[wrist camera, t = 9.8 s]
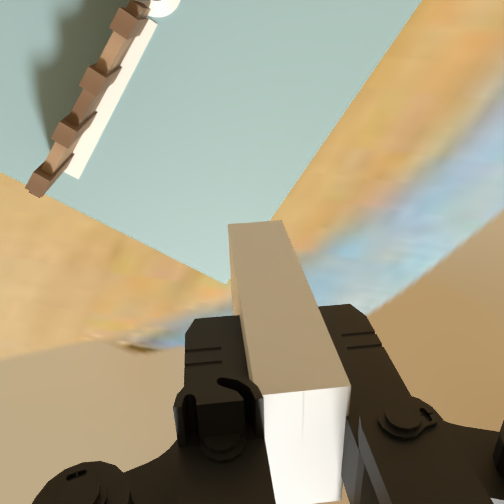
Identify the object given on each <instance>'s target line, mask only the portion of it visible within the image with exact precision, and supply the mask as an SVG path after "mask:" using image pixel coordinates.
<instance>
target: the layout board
mask: <svg viewBox="0 0 504 504" xmlns="http://www.w3.org/2000/svg"><path fill="white" fill-rule="evenodd" d="M129 1H130V0H0V172H2V173H4V174H6V175H8V176H10V177H12V178H14V179H16V180H18V181H20V182H22V183H24V184H26V185H27V183H28V181H29V179H30V177H31V175H32V173H33V172H34V171H35V170H36V169H37V168H38V167H39V166H40V165H41V164H42V163H43V162H44V161H45V160H46V158H47V156H48V154H49V152H50V151H51V149H52V147H53V145H54V143H55V141H54V140H52V139H51V137H52V135H53V133H54V131H55V129H56V127H57V126H58V124H59V122H60V121H61V120H62V119H64V118H65V117H66V116H67V115H69V114H70V113H71V111H72V109H73V107H74V105H75V103H76V101H77V99H78V98H79V96H80V94H81V92H82V90H83V88H82V87H80V86H79V84H80V82H81V80H82V78H83V76H84V74H85V72H86V70H87V68H88V67H89V66H91V65H93V64H95V63H97V62H98V60H99V58H100V56H101V54H102V52H103V50H104V48H105V46H106V45H107V43H108V41H109V39H110V37H111V35H112V33H113V30H112V29H110V28H109V26H110V24H111V22H112V20H113V19H114V17H115V15H116V13H117V11H118V9H119V7H124V8H126V7H127V5H128V3H129ZM135 1H137V0H135ZM421 1H422V0H160V1H153V0H151V1H147V2H142V3H143V4H145V5H146V6H147V7H149V8H150V9H151V10H150V12H149V14H148V15H147V17H146V18H148V19H149V20H148V22H147V23H146V25H145V27H144V29H143V31H142V32H141V34H140V36H137V37H135V39H134V41H133V43H132V45H131V46H130V48H129V50H128V52H127V54H126V56H125V57H124V59H123V61H122V63H121V65H120V66H121V67H122V69H121V71H120V73H119V74H118V76H117V78H116V80H115V82H114V83H113V84H112V85H110V86H109V87H108V89H107V90H106V92H105V94H104V96H103V98H102V100H101V101H100V103H99V105H98V107H97V109H96V111H97V112H98V113H97V114H96V116H95V118H94V120H93V122H92V124H91V125H90V127H89V128H88V129H87V130H86V131H85V132H84V133H83V134H82V136H81V138H80V140H79V142H78V143H77V145H76V147H75V149H74V151H73V153H74V154H75V155H74V156H73V158H72V160H71V162H70V164H69V165H68V167H67V168H66V170H65V171H64V172H63V173H62V174H61V175H60V177H59V178H58V179H57V180H56V181H55V182H54V184H53V185H52V186H51V187H50V188H49V189H48V190H47V192H46V193H45V194H46V195H48V196H50V197H52V198H54V199H56V200H58V201H60V202H62V203H64V204H66V205H68V206H70V207H72V208H74V209H76V210H78V211H80V212H82V213H84V214H86V215H88V216H90V217H92V218H94V219H96V220H98V221H100V222H102V223H104V224H106V225H108V226H109V227H111V228H113V229H115V230H117V231H119V232H121V233H123V234H125V235H127V236H129V237H131V238H133V239H135V240H137V241H139V242H141V243H143V244H145V245H147V246H149V247H151V248H153V249H155V250H157V251H159V252H161V253H163V254H165V255H167V256H169V257H171V258H173V259H175V260H177V261H179V262H181V263H183V264H185V265H187V266H189V267H191V268H193V269H195V270H197V271H199V272H201V273H203V274H205V275H207V276H209V277H211V278H213V279H215V280H217V281H219V282H221V283H223V284H226V283H227V282H228V280H229V279H230V277H231V274H230V256H229V238H228V224H236V223H250V222H264V221H270V219H271V218H272V216H273V215H274V214H275V212H276V211H277V209H278V208H279V206H280V205H281V203H282V202H283V201H284V199H285V198H286V196H287V195H288V193H289V192H290V190H291V189H292V188H293V186H294V185H295V183H296V182H297V180H298V179H299V177H300V176H301V174H302V173H303V172H304V170H305V169H306V167H307V166H308V164H309V163H310V161H311V160H312V159H313V157H314V156H315V154H316V153H317V151H318V150H319V148H320V147H321V146H322V144H323V143H324V141H325V140H326V138H327V137H328V135H329V134H330V133H331V131H332V130H333V128H334V127H335V125H336V124H337V122H338V121H339V119H340V118H341V117H342V115H343V114H344V112H345V111H346V109H347V108H348V106H349V105H350V104H351V102H352V101H353V99H354V98H355V96H356V95H357V93H358V92H359V91H360V89H361V88H362V86H363V85H364V83H365V82H366V80H367V79H368V77H369V76H370V75H371V73H372V72H373V70H374V69H375V67H376V66H377V64H378V63H379V62H380V60H381V59H382V57H383V56H384V54H385V53H386V51H387V50H388V49H389V47H390V46H391V44H392V43H393V41H394V40H395V38H396V37H397V36H398V34H399V33H400V31H401V30H402V28H403V27H404V25H405V24H406V22H407V21H408V20H409V18H410V17H411V15H412V14H413V12H414V11H415V9H416V8H417V7H418V5H419V4H420V2H421ZM139 2H141V1H139Z"/></svg>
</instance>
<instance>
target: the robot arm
mask: <svg viewBox="0 0 504 504" xmlns="http://www.w3.org/2000/svg"><path fill="white" fill-rule="evenodd" d="M228 238H229V256H230V274H231V291H232V308H233V315H234V316H222V317H211V318H199V319H195V320H194V321H193V323H192V324H191V326H190V327H189V329H188V330H187V332H186V334H185V373H184V387H183V389H182V390H181V391H180V392H179V393H178V394H177V397H176V400H175V403H174V406H173V411H174V418H175V425H176V432H177V440H176V441H175V443H174V444H173V445H172V446H171V447H170V449H169V450H167V451H166V452H165V453H164V454H162V455H161V456H160V457H158V458H156V459H154V460H152V461H150V462H149V463H146V464H144V465H142V466H139V467H137V468H134V469H132V470H129V471H127V472H124V473H123V472H122V471H121V470H120V469H119V468H118V467H117V466H115V465H112V464H109V463H105V462H102V461H95V462H83V463H80V464H78V465H75V466H73V467H70V468H67V469H65V470H64V471H62V472H61V473H59V474H58V475H57V476H55V477H54V478H53V479H51V480H50V481H48V483H47V484H46V485H45V486H44V488H43V489H42V490H41V491H40V493H39V494H38V495H37V496H36V498H35V499H34V501H33V503H32V504H313V503H322V502H329V501H339V500H341V497H342V485H343V483H344V486H345V489H346V493H347V496H348V499H349V502H350V504H504V421H503V424H502V427H501V430H500V432H496V431H490V430H483V429H477V428H470V427H464V426H459V425H455V424H451V423H448V422H446V421H443V419H442V418H441V417H440V415H439V414H438V413H437V412H436V411H435V410H434V409H433V407H431V406H429V405H428V404H427V403H425V402H423V401H422V400H420V399H418V398H415V397H412V396H411V395H410V393H409V391H408V390H407V388H406V386H405V384H404V382H403V381H402V379H401V377H400V375H399V373H398V372H397V370H396V368H395V366H394V365H393V363H392V361H391V360H390V358H389V356H388V354H387V352H386V350H385V349H384V347H382V343H381V342H380V340H379V338H378V336H377V335H376V334H375V331H374V329H373V327H372V326H371V324H370V322H369V320H368V319H367V317H366V316H365V315H364V314H363V313H361V312H360V311H359V310H357V309H356V308H355V307H353V306H352V305H351V304H343V305H332V306H320V307H318V306H317V303H316V301H315V299H314V296H313V294H312V291H311V289H310V287H309V284H308V282H307V280H306V277H305V275H304V272H303V270H302V268H301V265H300V263H299V261H298V258H297V256H296V253H295V251H294V249H293V246H292V244H291V241H290V239H289V237H288V234H287V232H286V230H285V227H284V225H283V222H282V220H278V221H264V222H250V223H236V224H228Z"/></svg>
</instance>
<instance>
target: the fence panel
mask: <svg viewBox="0 0 504 504" xmlns="http://www.w3.org/2000/svg"><path fill="white" fill-rule="evenodd" d="M150 10H151V9H150V8H149V7H147V6H146V5H145V4H143V3H142V2H139V1H135V0H130V1H129V3H128V5H127V7H126V8H124V7H119V9H118V11H117V13H116V15H115V17H114V19H113V20H112V22H111V24H110V26H109V28H110V29H112V30H113V33H112V35H111V37H110V39H109V41H108V43H107V45H106V46H105V48H104V50H103V52H102V54H101V56H100V58H99V60H98V62H97V63H95V64H93V65H91V66H89V67H88V68H87V70H86V72H85V74H84V76H83V78H82V80H81V82H80V84H79V86H80V87H82V88H83V90H82V92H81V94H80V96H79V98H78V99H77V101H76V103H75V105H74V107H73V109H72V111H71V113H70V114H69V115H67V116H66V117H65V118H64V119H62V120H61V121H60V122H59V124H58V126H57V127H56V129H55V131H54V133H53V135H52V137H51V139H52V140H54V141H55V143H54V145H53V147H52V149H51V151H50V152H49V154H48V156H47V158H46V160H45V161H44V162H43V163H42V164H41V165H40V166H39V167H38V168H37V169H36V170H35V171H34V172H33V173H32V175H31V177H30V179H29V181H28V183H27V185H26V187H25V188H26V189H28V190H29V193H31V194H33V195H35V196H37V197H38V198H40V197H42V196H43V195H44V194H45V193H46V192H47V190H48V189H49V188H50V187H51V186H52V185H53V184H54V182H55V181H56V180H57V179H58V178H59V177H60V175H61V174H62V173H63V172H64V171H65V170H66V168H67V167H68V165H69V164H70V162H71V160H72V158H73V156H74V155H75V154H74V153H73V151H74V149H75V147H76V145H77V143H78V142H79V140H80V138H81V136H82V134H83V133H84V132H85V131H86V130H87V129H88V128H89V127H90V125H91V124H92V122H93V120H94V118H95V116H96V114H97V113H98V112H97V111H96V109H97V107H98V105H99V103H100V101H101V100H102V98H103V96H104V94H105V92H106V90H107V89H108V87H109V86H110V85H112V84H113V83H114V82H115V80H116V78H117V76H118V74H119V73H120V71H121V69H122V67H121V66H120V65H121V63H122V61H123V59H124V57H125V56H126V54H127V52H128V50H129V48H130V46H131V45H132V43H133V41H134V39H135V37H137V36H140V34H141V32H142V31H143V29H144V27H145V25H146V23H147V22H148V20H149V19H148V18H146V17H147V15H148V14H149V12H150Z"/></svg>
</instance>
